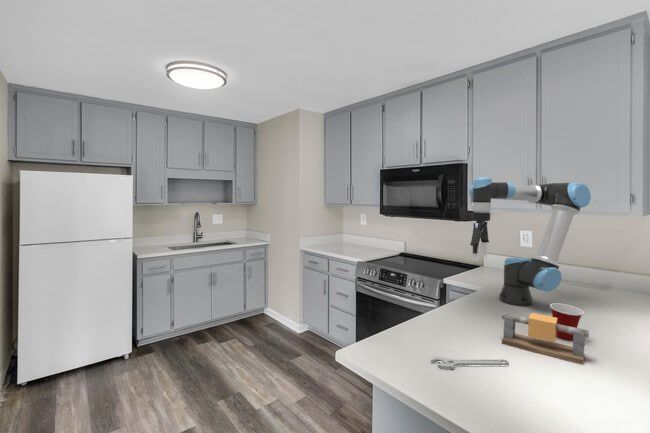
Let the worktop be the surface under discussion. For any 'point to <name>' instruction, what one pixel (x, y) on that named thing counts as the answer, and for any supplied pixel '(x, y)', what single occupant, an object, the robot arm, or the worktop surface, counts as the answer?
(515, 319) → the frame
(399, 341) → the worktop surface
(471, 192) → the robot arm
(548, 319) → the block
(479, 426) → the worktop surface
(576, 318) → the plastic cup
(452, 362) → the adjustable wrench
